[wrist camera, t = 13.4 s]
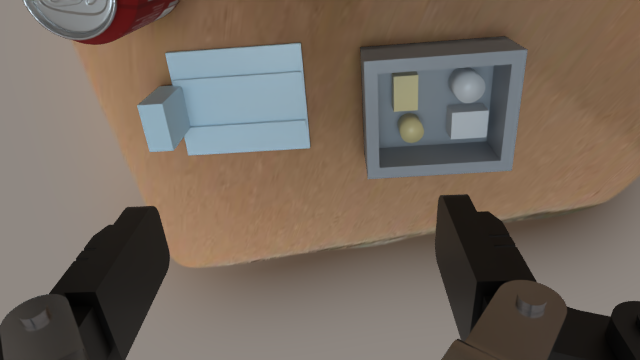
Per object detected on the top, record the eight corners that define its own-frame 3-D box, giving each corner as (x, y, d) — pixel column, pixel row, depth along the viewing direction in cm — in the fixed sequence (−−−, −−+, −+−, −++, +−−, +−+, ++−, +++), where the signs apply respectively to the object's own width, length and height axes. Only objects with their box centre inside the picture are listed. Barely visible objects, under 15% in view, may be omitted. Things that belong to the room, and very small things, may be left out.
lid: (154, 52, 40) (127, 69, 35) (301, 41, 39) (296, 57, 34) (178, 152, 44) (158, 181, 39) (310, 144, 44) (307, 173, 38)
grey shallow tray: (360, 47, 39) (363, 61, 34) (504, 36, 38) (527, 49, 34) (364, 154, 44) (367, 179, 39) (493, 146, 43) (511, 170, 38)
